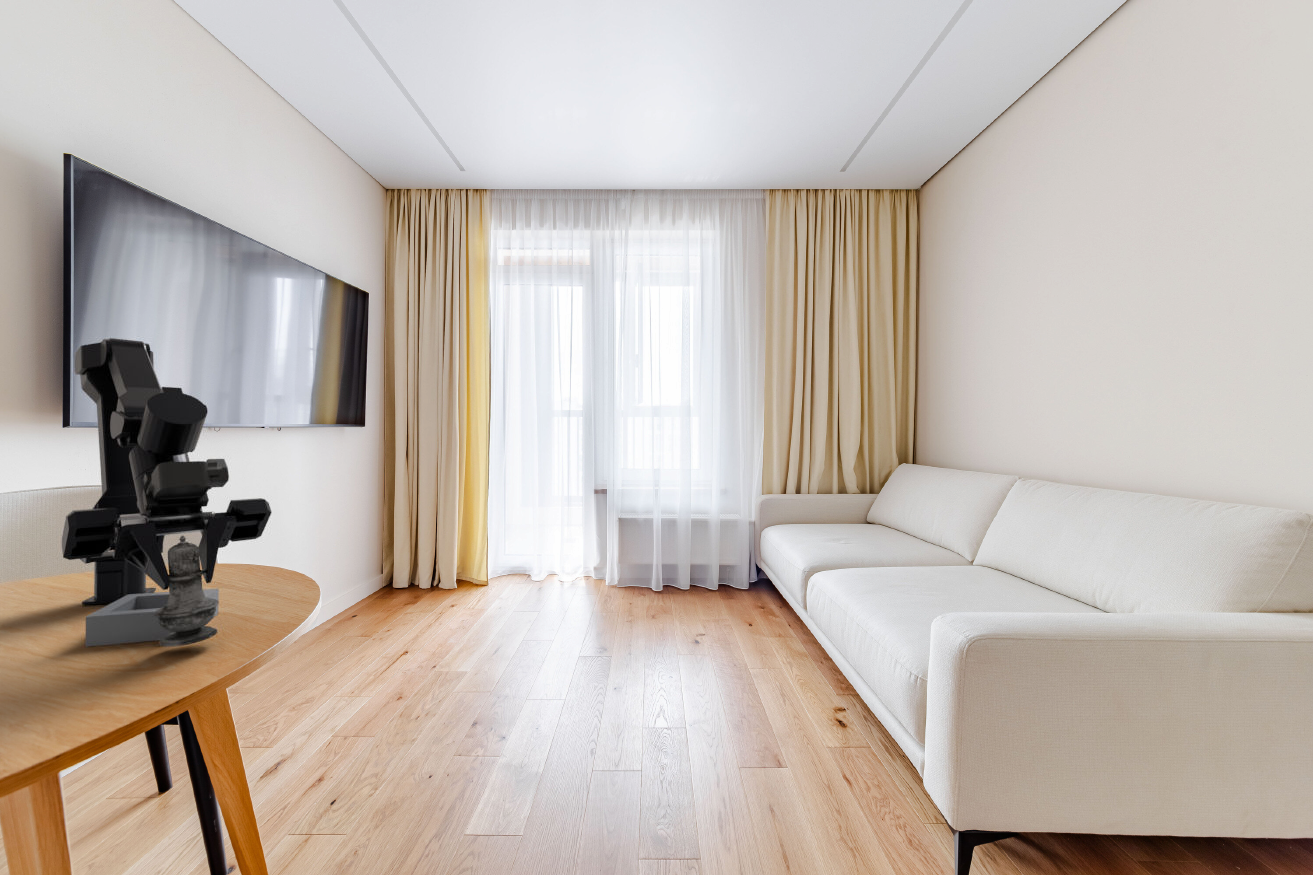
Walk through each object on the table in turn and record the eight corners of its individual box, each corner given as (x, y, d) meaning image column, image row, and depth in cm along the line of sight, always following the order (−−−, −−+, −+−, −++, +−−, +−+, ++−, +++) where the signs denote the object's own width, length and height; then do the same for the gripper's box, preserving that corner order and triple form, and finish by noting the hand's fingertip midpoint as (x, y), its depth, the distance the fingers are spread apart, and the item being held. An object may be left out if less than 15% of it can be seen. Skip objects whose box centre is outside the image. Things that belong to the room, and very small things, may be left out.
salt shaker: (184, 649, 64) (177, 541, 63) (141, 646, 65) (134, 540, 64) (233, 628, 69) (227, 530, 69) (193, 626, 71) (186, 529, 70)
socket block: (127, 620, 77) (128, 594, 77) (218, 613, 80) (218, 588, 80) (85, 646, 67) (85, 616, 67) (189, 637, 71) (190, 608, 71)
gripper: (67, 435, 62) (83, 554, 55) (267, 437, 76) (299, 530, 70) (55, 502, 67) (69, 618, 60) (245, 491, 81) (273, 584, 75)
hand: (188, 584), depth 66 cm, fingers closed on salt shaker, 4 cm apart
